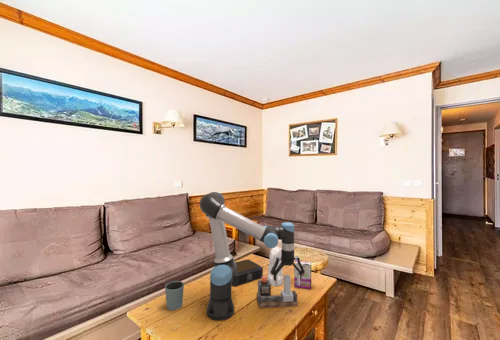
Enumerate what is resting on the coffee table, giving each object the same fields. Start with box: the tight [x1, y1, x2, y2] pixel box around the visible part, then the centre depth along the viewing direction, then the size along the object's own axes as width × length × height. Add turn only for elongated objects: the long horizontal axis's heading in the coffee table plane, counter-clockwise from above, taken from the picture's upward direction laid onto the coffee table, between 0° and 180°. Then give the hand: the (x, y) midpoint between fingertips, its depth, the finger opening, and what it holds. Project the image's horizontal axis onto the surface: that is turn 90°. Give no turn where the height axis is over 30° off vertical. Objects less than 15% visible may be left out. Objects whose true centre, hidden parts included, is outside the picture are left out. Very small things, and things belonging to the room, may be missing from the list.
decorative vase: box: [266, 245, 284, 287], centre depth 162 cm, size 11×11×25 cm
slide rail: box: [256, 290, 298, 309], centre depth 137 cm, size 23×8×6 cm, turn 98°
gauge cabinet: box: [257, 279, 272, 296], centre depth 145 cm, size 7×6×8 cm
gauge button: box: [261, 275, 268, 284], centre depth 145 cm, size 3×3×4 cm
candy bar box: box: [293, 260, 312, 290], centre depth 156 cm, size 11×5×16 cm, turn 76°
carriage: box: [280, 274, 294, 302], centre depth 137 cm, size 6×6×14 cm
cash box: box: [232, 259, 264, 287], centre depth 169 cm, size 25×20×8 cm
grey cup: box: [164, 280, 185, 311], centre depth 132 cm, size 10×10×12 cm
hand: (287, 285), depth 137 cm, fingers open, 13 cm apart
